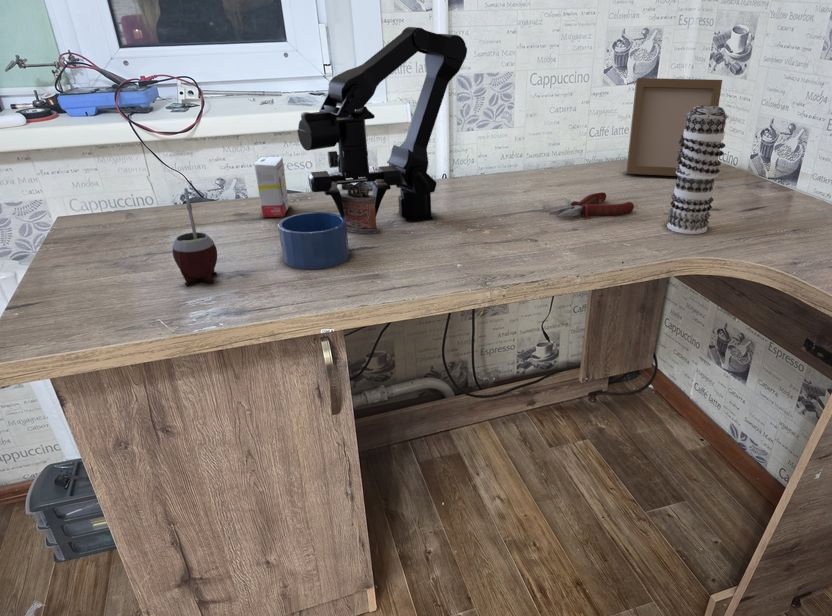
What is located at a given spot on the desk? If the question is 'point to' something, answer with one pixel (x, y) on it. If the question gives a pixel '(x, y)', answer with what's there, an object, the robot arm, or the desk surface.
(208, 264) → the mate gourd
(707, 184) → the decorative candle
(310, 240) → the blue round bin
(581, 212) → the pliers
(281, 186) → the ink box
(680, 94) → the photo frame
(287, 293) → the desk surface
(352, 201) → the lighter
